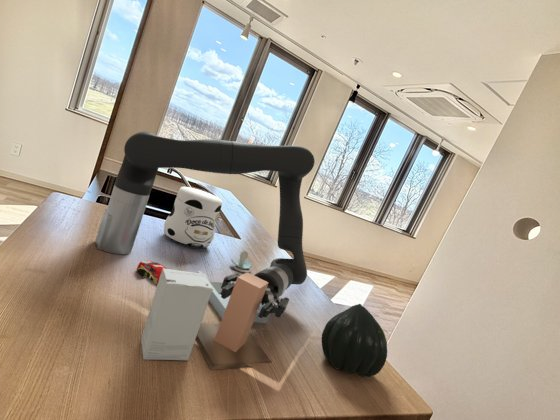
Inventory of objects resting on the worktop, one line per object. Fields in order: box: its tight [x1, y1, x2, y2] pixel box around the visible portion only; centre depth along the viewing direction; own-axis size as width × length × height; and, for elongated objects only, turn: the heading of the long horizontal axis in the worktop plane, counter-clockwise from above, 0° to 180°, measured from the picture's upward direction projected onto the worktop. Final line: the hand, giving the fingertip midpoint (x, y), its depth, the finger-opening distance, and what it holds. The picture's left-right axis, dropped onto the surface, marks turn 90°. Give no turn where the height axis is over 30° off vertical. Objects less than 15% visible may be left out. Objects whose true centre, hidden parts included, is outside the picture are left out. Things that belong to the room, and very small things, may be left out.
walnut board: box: [195, 322, 272, 371], centre depth 74 cm, size 13×13×1 cm
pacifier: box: [231, 250, 252, 274], centre depth 121 cm, size 7×6×6 cm
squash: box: [321, 303, 388, 378], centre depth 85 cm, size 14×15×15 cm
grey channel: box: [196, 270, 270, 324], centre depth 93 cm, size 12×20×4 cm, turn 33°
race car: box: [136, 260, 167, 285], centre depth 91 cm, size 13×5×4 cm, turn 53°
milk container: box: [163, 186, 223, 249], centre depth 127 cm, size 17×17×18 cm
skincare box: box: [140, 268, 213, 361], centre depth 64 cm, size 8×6×15 cm
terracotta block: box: [214, 272, 269, 353], centre depth 73 cm, size 5×5×14 cm
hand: (242, 303), depth 71 cm, fingers open, 8 cm apart
